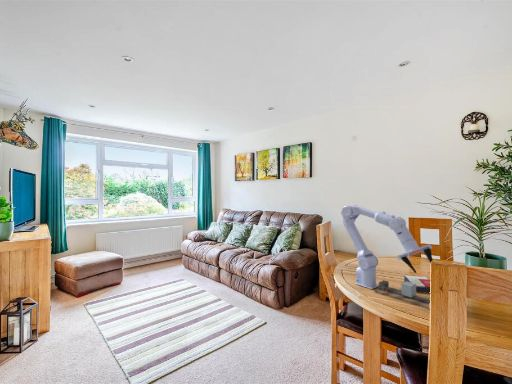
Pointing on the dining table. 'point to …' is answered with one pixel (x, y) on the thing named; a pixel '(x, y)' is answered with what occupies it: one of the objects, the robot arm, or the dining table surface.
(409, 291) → the grey block
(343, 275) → the dining table surface
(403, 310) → the dining table surface
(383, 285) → the cord board
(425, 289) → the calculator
